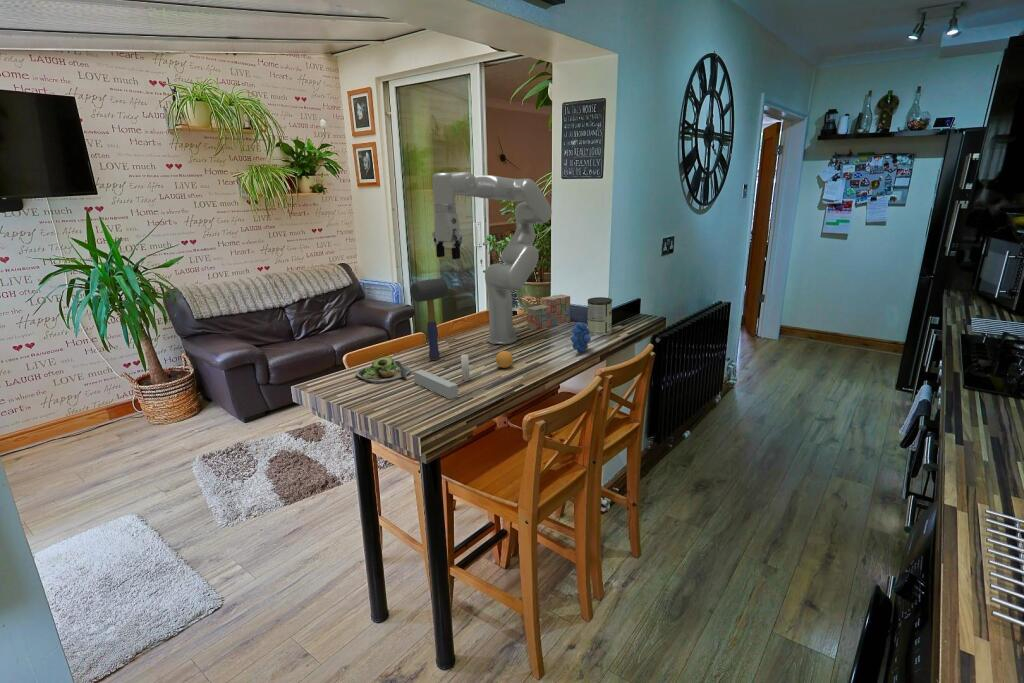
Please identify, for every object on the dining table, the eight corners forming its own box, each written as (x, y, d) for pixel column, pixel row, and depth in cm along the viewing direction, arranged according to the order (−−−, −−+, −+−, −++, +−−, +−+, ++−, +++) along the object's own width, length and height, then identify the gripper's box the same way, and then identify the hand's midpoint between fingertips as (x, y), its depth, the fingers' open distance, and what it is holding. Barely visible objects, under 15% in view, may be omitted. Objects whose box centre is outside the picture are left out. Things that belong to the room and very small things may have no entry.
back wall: (422, 380, 174) (421, 369, 173) (458, 396, 159) (457, 384, 158) (414, 383, 172) (413, 371, 171) (450, 399, 157) (449, 387, 156)
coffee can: (587, 328, 230) (587, 297, 226) (611, 328, 228) (611, 297, 224) (587, 335, 220) (587, 302, 216) (612, 335, 218) (612, 302, 215)
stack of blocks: (536, 330, 230) (535, 303, 227) (527, 328, 235) (526, 301, 231) (570, 321, 243) (570, 295, 240) (561, 319, 248) (560, 293, 244)
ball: (505, 363, 188) (505, 347, 186) (516, 367, 184) (516, 351, 182) (492, 367, 184) (492, 351, 182) (503, 371, 180) (503, 354, 178)
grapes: (582, 358, 191) (582, 326, 187) (566, 355, 195) (566, 324, 191) (598, 350, 199) (598, 319, 196) (583, 347, 203) (583, 317, 200)
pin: (466, 378, 175) (465, 353, 172) (471, 379, 173) (469, 355, 171) (460, 380, 173) (459, 355, 171) (465, 381, 171) (463, 357, 169)
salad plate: (425, 375, 180) (424, 362, 179) (380, 390, 168) (379, 376, 167) (393, 363, 193) (392, 351, 192) (349, 376, 181) (348, 364, 180)
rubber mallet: (426, 365, 188) (419, 283, 180) (414, 361, 194) (407, 280, 185) (454, 357, 196) (448, 278, 188) (442, 353, 202) (436, 276, 193)
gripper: (468, 209, 182) (471, 258, 186) (440, 208, 194) (443, 255, 199) (450, 210, 177) (453, 260, 182) (422, 209, 189) (426, 257, 194)
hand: (448, 257), depth 190 cm, fingers open, 9 cm apart
